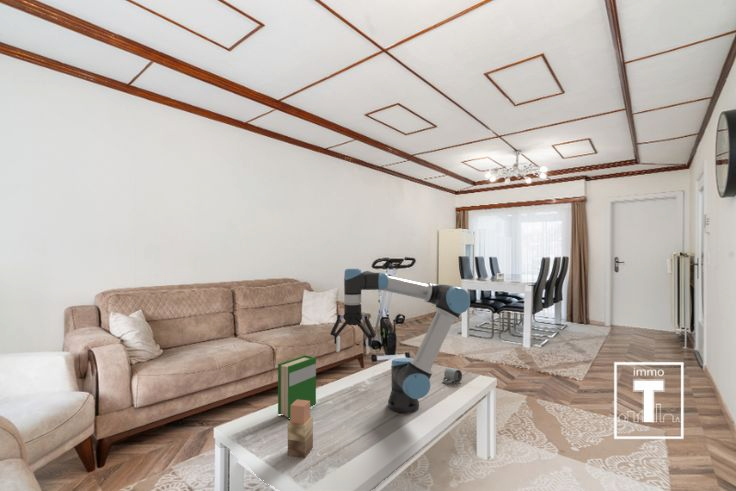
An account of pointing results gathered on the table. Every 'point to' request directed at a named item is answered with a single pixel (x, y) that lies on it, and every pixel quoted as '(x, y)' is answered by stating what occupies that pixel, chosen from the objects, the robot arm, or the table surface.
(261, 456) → the table surface
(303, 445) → the walnut base block
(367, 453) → the table surface
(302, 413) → the terracotta block
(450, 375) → the ceramic mug
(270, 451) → the table surface
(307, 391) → the hardback book
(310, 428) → the oak middle block
